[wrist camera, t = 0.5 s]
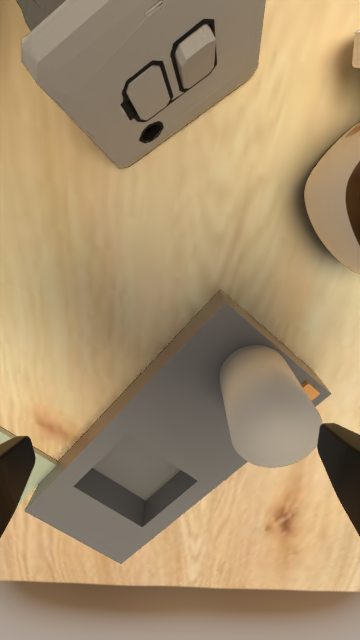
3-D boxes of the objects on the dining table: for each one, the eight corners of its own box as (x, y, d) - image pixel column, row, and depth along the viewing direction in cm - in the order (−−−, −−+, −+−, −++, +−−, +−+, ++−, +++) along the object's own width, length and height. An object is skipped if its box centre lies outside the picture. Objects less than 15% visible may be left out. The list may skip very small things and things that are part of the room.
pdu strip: (40, 480, 29) (-16, 588, 21) (220, 289, 22) (240, 339, 14) (126, 530, 31) (106, 645, 23) (314, 371, 24) (378, 455, 16)
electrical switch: (122, 173, 19) (57, 124, 10) (73, 93, 18) (-47, -38, 9) (257, 76, 18) (317, -84, 9) (210, -20, 16) (223, -315, 8)
